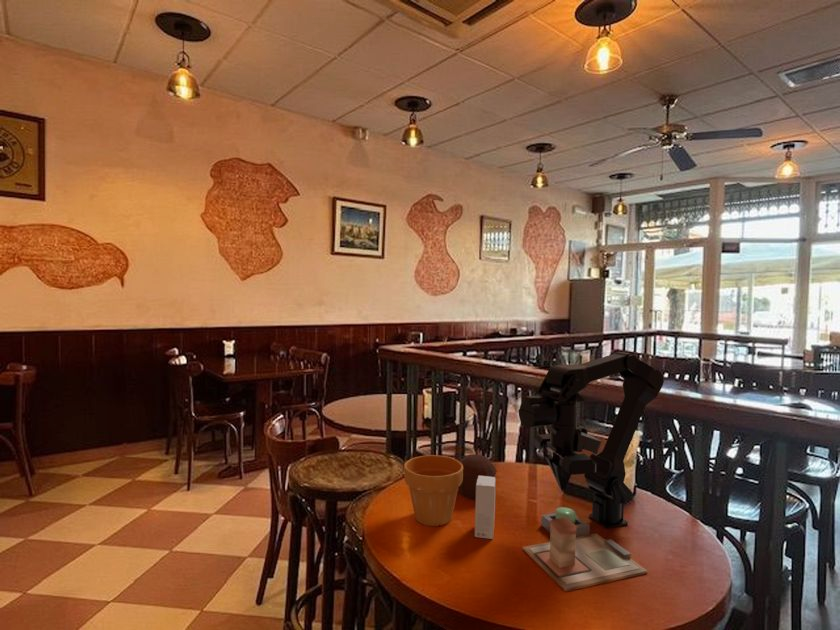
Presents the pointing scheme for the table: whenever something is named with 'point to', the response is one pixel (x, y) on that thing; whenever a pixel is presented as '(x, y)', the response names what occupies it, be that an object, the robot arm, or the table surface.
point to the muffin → (474, 473)
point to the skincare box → (485, 507)
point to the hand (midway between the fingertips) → (562, 489)
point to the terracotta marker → (562, 542)
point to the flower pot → (433, 487)
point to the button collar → (581, 526)
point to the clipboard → (587, 563)
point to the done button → (565, 514)
